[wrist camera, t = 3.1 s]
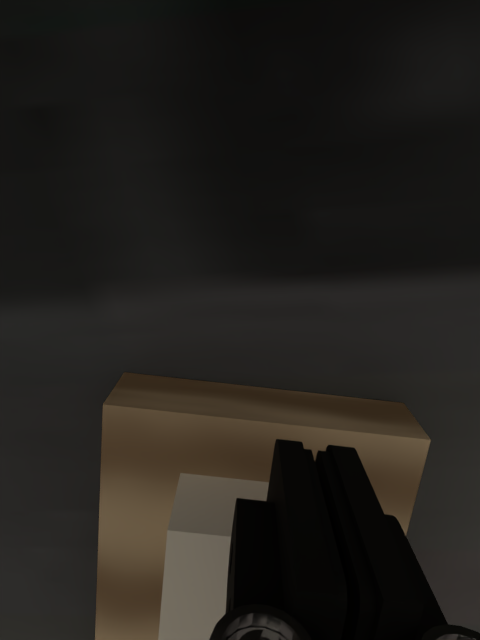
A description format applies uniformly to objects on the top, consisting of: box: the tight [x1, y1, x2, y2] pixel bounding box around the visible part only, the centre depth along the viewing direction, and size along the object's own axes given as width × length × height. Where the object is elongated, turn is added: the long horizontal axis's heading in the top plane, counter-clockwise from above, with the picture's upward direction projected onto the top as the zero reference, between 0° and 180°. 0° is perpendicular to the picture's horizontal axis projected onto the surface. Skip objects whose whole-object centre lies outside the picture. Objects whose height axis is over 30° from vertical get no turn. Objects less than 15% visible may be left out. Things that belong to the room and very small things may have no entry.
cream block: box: [158, 473, 269, 640], centre depth 17 cm, size 7×6×3 cm
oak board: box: [95, 372, 431, 640], centre depth 20 cm, size 16×12×3 cm
